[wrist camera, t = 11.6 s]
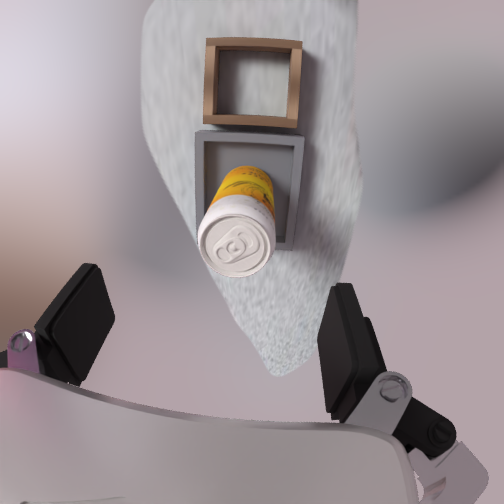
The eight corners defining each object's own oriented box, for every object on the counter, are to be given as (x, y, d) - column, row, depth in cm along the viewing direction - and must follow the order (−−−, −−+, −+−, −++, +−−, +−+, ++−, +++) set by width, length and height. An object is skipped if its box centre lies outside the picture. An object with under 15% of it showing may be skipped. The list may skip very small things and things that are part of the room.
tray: (199, 130, 32) (194, 132, 29) (302, 135, 31) (304, 137, 29) (201, 235, 38) (197, 244, 36) (290, 241, 38) (292, 250, 36)
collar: (211, 43, 26) (206, 38, 23) (299, 46, 26) (302, 41, 23) (208, 122, 31) (202, 124, 28) (294, 126, 31) (296, 128, 28)
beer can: (282, 193, 34) (292, 256, 21) (243, 220, 36) (229, 294, 23) (252, 154, 32) (241, 192, 19) (212, 184, 34) (178, 240, 21)
